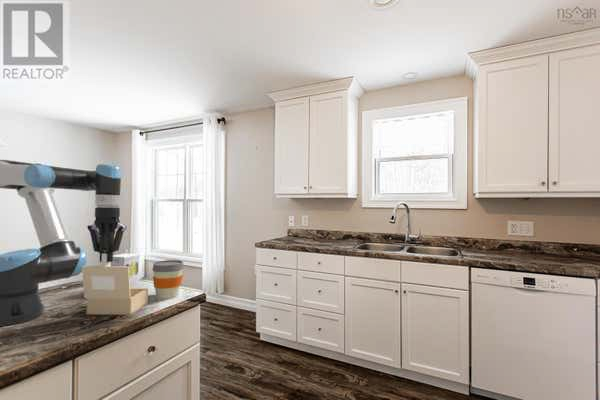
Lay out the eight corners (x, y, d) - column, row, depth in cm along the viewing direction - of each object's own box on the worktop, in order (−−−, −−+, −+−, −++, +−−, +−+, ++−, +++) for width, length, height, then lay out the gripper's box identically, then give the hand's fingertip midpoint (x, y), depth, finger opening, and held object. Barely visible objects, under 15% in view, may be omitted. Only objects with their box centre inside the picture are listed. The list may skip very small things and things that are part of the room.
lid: (85, 297, 101) (84, 298, 100) (82, 265, 99) (81, 266, 98) (130, 298, 101) (129, 299, 100) (128, 266, 99) (127, 267, 99)
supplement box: (122, 294, 123) (123, 257, 124) (105, 293, 125) (106, 256, 126) (139, 288, 133) (140, 253, 133) (122, 287, 134) (124, 252, 135)
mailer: (86, 314, 101) (87, 297, 101) (108, 302, 113) (109, 288, 113) (130, 314, 101) (131, 298, 102) (147, 303, 113) (148, 288, 114)
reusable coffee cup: (162, 291, 129) (163, 259, 130) (187, 292, 128) (188, 260, 128) (145, 300, 117) (146, 265, 117) (172, 301, 116) (174, 266, 116)
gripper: (81, 206, 97) (79, 273, 97) (119, 207, 97) (117, 273, 97) (96, 206, 104) (95, 268, 104) (131, 207, 105) (129, 268, 105)
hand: (105, 270), depth 101 cm, fingers closed
